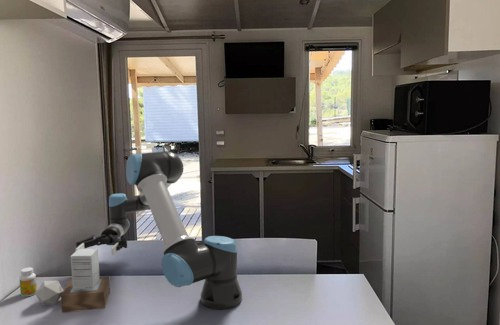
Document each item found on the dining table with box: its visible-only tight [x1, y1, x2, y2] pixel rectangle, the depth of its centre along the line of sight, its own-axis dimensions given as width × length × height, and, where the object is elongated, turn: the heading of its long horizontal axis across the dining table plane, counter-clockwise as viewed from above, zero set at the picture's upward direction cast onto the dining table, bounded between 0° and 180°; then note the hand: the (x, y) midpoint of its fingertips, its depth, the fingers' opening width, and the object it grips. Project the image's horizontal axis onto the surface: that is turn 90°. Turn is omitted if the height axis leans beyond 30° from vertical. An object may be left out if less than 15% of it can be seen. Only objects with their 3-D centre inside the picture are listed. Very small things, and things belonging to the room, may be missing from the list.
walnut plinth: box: [60, 276, 111, 313], centre depth 141 cm, size 14×13×6 cm
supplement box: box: [70, 248, 101, 290], centre depth 140 cm, size 7×7×13 cm
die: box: [34, 280, 65, 305], centre depth 140 cm, size 8×9×10 cm
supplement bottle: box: [18, 266, 38, 298], centre depth 147 cm, size 5×5×10 cm
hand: (94, 252), depth 149 cm, fingers open, 13 cm apart
